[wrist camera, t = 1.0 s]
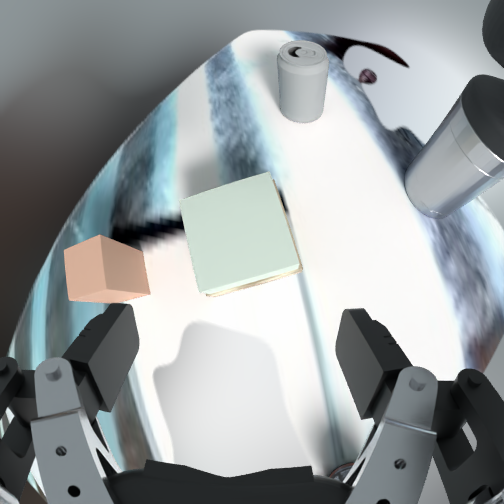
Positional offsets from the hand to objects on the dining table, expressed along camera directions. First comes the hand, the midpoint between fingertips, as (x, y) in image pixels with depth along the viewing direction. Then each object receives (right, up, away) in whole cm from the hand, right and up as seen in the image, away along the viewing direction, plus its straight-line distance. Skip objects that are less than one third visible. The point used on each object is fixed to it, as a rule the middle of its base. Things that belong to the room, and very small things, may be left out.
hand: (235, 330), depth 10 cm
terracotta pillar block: (-17, -1, +26) cm, 31 cm away
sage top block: (-1, +4, +21) cm, 22 cm away
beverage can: (+8, +24, +28) cm, 38 cm away
